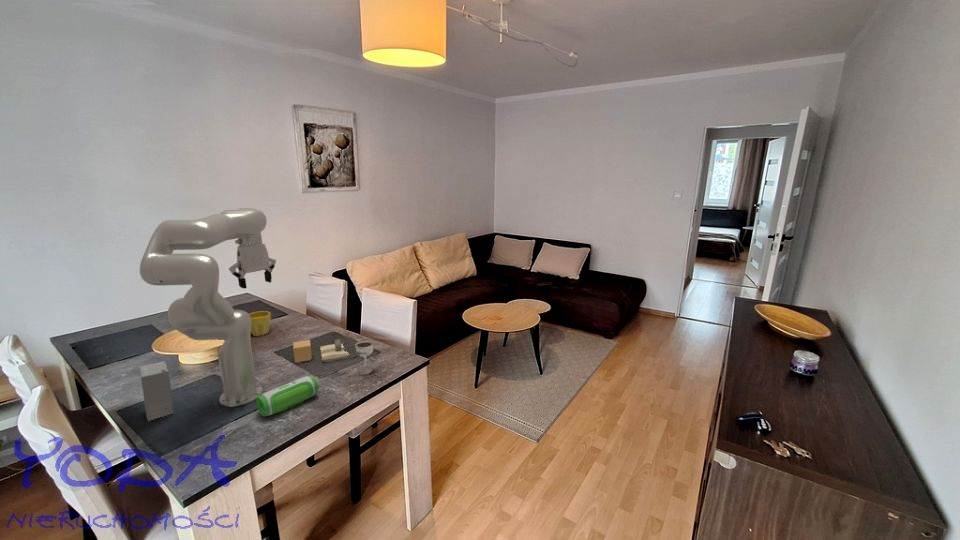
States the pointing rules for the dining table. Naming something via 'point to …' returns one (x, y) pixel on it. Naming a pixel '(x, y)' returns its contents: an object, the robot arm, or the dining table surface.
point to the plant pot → (260, 322)
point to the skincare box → (156, 390)
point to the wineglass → (364, 349)
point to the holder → (333, 351)
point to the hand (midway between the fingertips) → (256, 284)
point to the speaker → (286, 395)
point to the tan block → (302, 350)
